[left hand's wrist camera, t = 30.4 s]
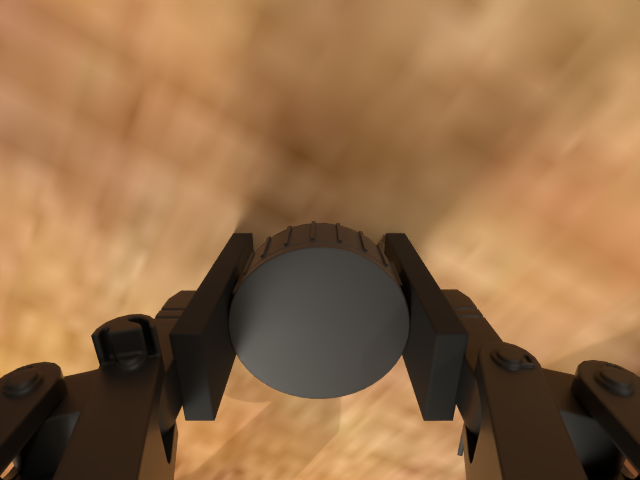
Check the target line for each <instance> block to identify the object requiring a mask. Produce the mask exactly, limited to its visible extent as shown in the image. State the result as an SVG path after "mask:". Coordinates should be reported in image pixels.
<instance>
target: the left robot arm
mask: <svg viewBox="0 0 640 480" xmlns="http://www.w3.org/2000/svg"><path fill="white" fill-rule="evenodd" d="M252 252H254V251H253V238H252V233H233V235H232V236H231V238H230V240H229V241H228V243H227V244H226V246H225V247H224V249H223V250H222V252H221V254H220V255H219V257H218V258H217V260H216V261H215V263H214V264H213V266H212V268H211V269H210V271H209V272H208V274H207V275H206V277H205V278H204V280H203V282H202V283H201V285H200V286H199V288H198V289H197V291H180V292H178V293H177V294H175V295H174V296H172V297H171V298H169V299H168V301H167V302H166V303H165V305H164V306H163V307H162V310H160V311H159V312H158V314H157V315H156V316H155V319H153V318H152V317H150V316H148V315H143V314H132V315H126V316H122V317H118V318H115V319H113V320H111V321H108V322H106V323H105V324H103V325H102V326H100V327H99V328H97V329H96V330H95V332H94V333H93V334H92V335H91V337H92V340H93V343H94V347H95V350H96V354H97V357H98V360H99V364H100V366H99V368H98V369H96V370H93V371H89V372H84V373H79V374H75V375H70V376H65V377H63V374H62V371H61V368H60V367H59V366H58V365H57V364H55V363H50V362H41V363H34V364H30V365H26V366H23V367H20V368H18V369H16V370H14V371H12V372H10V373H8V374H6V375H4V376H3V377H2V378H0V475H1V474H2V473H3V472H4V470H5V469H6V468H7V467H8V465H9V464H10V463H11V462H12V461H13V464H14V467H13V468H12V469H11V471H10V472H9V473H8V474H7V475H6V476H5V477H4V478H3V479H2V478H1V477H0V480H174V471H175V460H176V450H177V440H178V430H177V425H176V418H177V416H178V414H179V411H180V409H181V407H182V405H183V410H184V415H185V420H186V421H215V417H216V414H217V411H218V408H219V405H220V402H221V399H222V396H223V393H224V390H225V387H226V384H227V381H228V378H229V375H230V372H231V369H232V366H233V363H234V360H235V357H236V352H235V350H234V348H233V345H232V343H231V339H230V335H229V327H228V318H229V310H230V306H231V302H232V299H233V297H234V295H232V293H233V290H234V288H235V286H236V284H237V282H238V279H239V277H240V275H241V273H242V271H244V269H245V267H246V265H247V262H248V260H249V258H250V256H251V254H252ZM384 254H385V256H386V257H387V258H388V260H389V262H393V264H394V267H395V269H396V271H397V273H398V276H399V278H400V280H401V283H402V286H400V287H401V289H402V291H403V294H404V296H405V298H406V300H407V303H408V309H409V315H410V330H409V337H408V340H407V343H406V347H405V349H404V351H403V353H402V356H403V359H404V362H405V365H406V368H407V371H408V374H409V377H410V380H411V383H412V386H413V389H414V392H415V395H416V398H417V401H418V405H419V408H420V411H421V414H422V417H423V420H424V421H453V417H454V412H455V406H456V405H457V407H458V409H459V411H460V414H461V416H462V418H463V420H464V425H463V429H462V434H461V439H460V444H459V449H458V455H460V456H462V454H463V450H464V459H465V470H466V480H640V378H639V377H638V376H637V375H635V374H634V373H632V372H630V371H628V370H626V369H624V368H622V367H621V366H618V365H615V364H612V363H608V362H603V361H596V360H590V361H583V362H582V363H581V364H579V365H578V367H577V370H576V373H575V375H572V374H567V373H562V372H558V371H553V370H548V369H544V368H541V365H540V364H539V362H538V361H537V359H536V358H535V357H534V356H533V355H531V354H530V353H529V352H528V351H526V350H524V349H522V348H520V347H518V346H516V345H513V344H509V343H505V342H503V341H502V340H501V339H500V337H499V336H498V335H497V333H496V332H495V331H494V329H493V328H492V327H491V325H490V324H489V323H488V321H487V320H486V319H485V317H483V315H482V314H481V312H480V311H479V310H478V309H477V307H476V306H475V304H474V303H473V302H472V300H471V299H470V298H469V297H468V296H466V295H465V294H463V293H462V292H460V291H459V290H457V289H454V290H441V289H440V288H439V286H438V285H437V283H436V282H435V280H434V278H433V277H432V275H431V274H430V272H429V271H428V269H427V268H426V266H425V264H424V263H423V261H422V260H421V258H420V257H419V255H418V254H417V252H416V250H415V249H414V247H413V246H412V244H411V243H410V241H409V240H408V238H407V236H406V235H405V233H386V239H385V252H384ZM626 459H627V460H628V462H629V463H630V464H631V465H632V467H633V468H634V469H635V470H636V471H637V473H638V476H637V477H635V476H634V475H633V474H632V473H631V472H630V471H629V469H628V468H627V467H626V466H625V464H624V462H625V460H626Z"/></svg>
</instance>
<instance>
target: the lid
mask: <svg viewBox="0 0 640 480" xmlns="http://www.w3.org/2000/svg"><path fill="white" fill-rule="evenodd" d="M400 286H402V283H401V280H400V278H399V276H398V273H397V271H396V269H395V267H394V264H393V262H389V260H388V258H387V257H386V256H385V254H384V253H383V250H382V248H381V246H380V245H379V244H378V245H376V244H375V243H374V242H372V241H371V240H370V239H368V238H367V237H366V236H364V235H363V232H361V231H359V232H357V231H354V230H352V229H349V228H347V227H343V226H340V223H337V224H336V225H334V224H327V223H315V221H312V224H304V225H299V226H295V227H291V226H288V228H287V230H284V231H282V232H280V233H278V234H276V235H274V236H273V237H272V238H271V237H270V236H269V237H268V238H267V239H266V242H265V243H264V244H263V245H262V246H261V247H260V248H259V249H258V250H257V251H256V252H255V253H254V252H252V254H251V256H250V258H249V260H248V262H247V265H246V267H245V269H244V271H242V273H241V275H240V277H239V279H238V282H237V284H236V286H235V288H234V290H233V293H232V295H234V297H233V299H232V302H231V306H230V310H229V318H228V327H229V335H230V339H231V343H232V345H233V348H234V350H235V352H236V354H237V356H238V357H239V359H240V361H241V362H242V363H243V365H244V366H245V367H246V368H247V369H248V370H249V371H250V372H251V373H252V374H253V375H254V376H255V377H256V378H258V379H259V380H260V381H262V382H263V383H265V384H266V385H268V386H270V387H272V388H274V389H276V390H278V391H280V392H283V393H286V394H289V395H293V396H297V397H303V398H311V399H327V398H336V397H341V396H346V395H349V394H353V393H356V392H358V391H360V390H363V389H365V388H367V387H369V386H371V385H372V384H374V383H375V382H377V381H378V380H380V379H381V378H382V377H384V376H385V375H386V374H387V373H388V372H389V371H390V370H391V369H392V368H393V366H394V365H395V364H396V363H397V361H398V360H399V358H400V357H401V355H402V353H403V351H404V349H405V347H406V343H407V340H408V337H409V330H410V315H409V309H408V303H407V300H406V298H405V296H404V294H403V291H402V289H401V287H400Z"/></svg>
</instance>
